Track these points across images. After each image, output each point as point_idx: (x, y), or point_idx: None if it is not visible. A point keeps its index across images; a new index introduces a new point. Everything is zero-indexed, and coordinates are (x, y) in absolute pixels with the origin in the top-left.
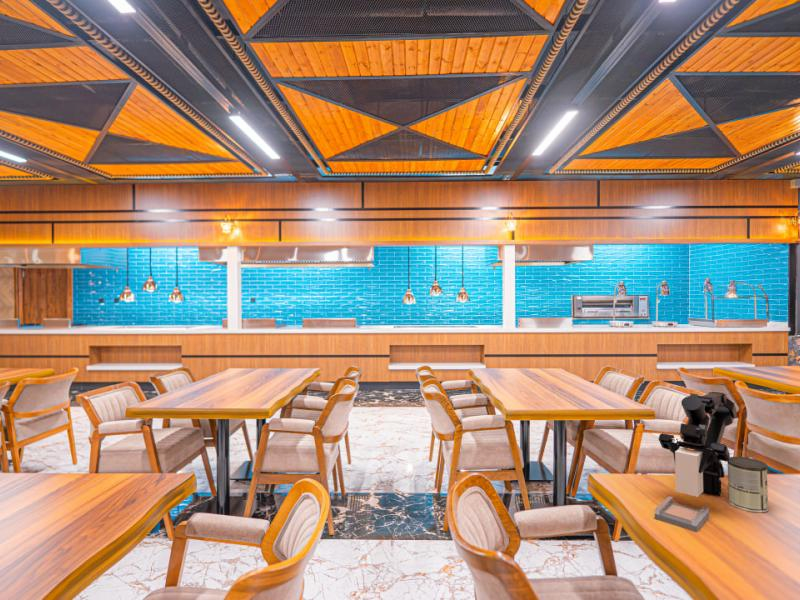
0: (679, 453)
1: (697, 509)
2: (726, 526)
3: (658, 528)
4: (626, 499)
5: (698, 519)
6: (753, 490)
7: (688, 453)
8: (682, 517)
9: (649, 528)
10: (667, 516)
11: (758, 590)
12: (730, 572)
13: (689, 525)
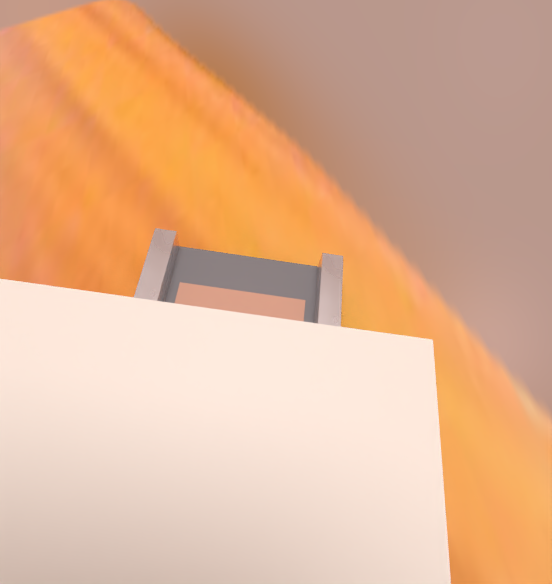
0: (315, 330)
1: None
2: None
3: (297, 206)
4: (522, 431)
5: (146, 261)
6: None
7: (84, 377)
8: (221, 293)
9: (323, 190)
10: (284, 272)
11: (21, 31)
12: (76, 69)
13: (188, 249)
